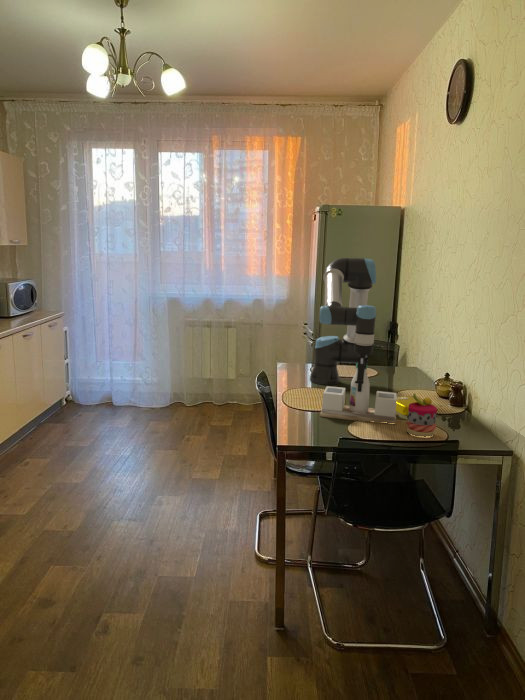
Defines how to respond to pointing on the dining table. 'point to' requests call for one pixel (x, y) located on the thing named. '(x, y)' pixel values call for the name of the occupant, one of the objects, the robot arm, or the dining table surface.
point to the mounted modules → (336, 400)
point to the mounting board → (357, 415)
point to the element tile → (405, 404)
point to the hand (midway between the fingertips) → (360, 394)
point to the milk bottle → (363, 404)
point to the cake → (421, 417)
